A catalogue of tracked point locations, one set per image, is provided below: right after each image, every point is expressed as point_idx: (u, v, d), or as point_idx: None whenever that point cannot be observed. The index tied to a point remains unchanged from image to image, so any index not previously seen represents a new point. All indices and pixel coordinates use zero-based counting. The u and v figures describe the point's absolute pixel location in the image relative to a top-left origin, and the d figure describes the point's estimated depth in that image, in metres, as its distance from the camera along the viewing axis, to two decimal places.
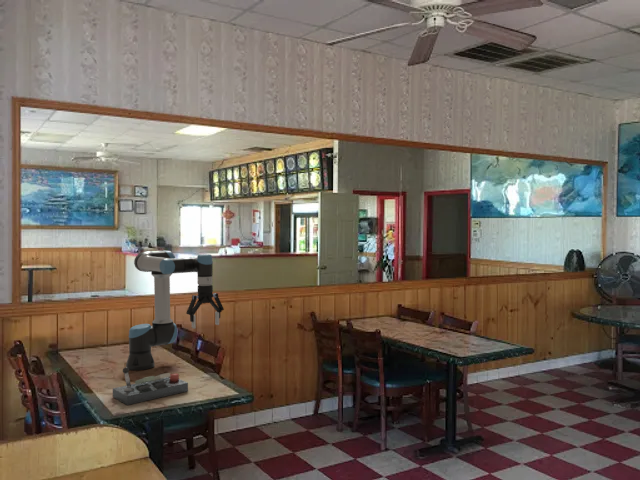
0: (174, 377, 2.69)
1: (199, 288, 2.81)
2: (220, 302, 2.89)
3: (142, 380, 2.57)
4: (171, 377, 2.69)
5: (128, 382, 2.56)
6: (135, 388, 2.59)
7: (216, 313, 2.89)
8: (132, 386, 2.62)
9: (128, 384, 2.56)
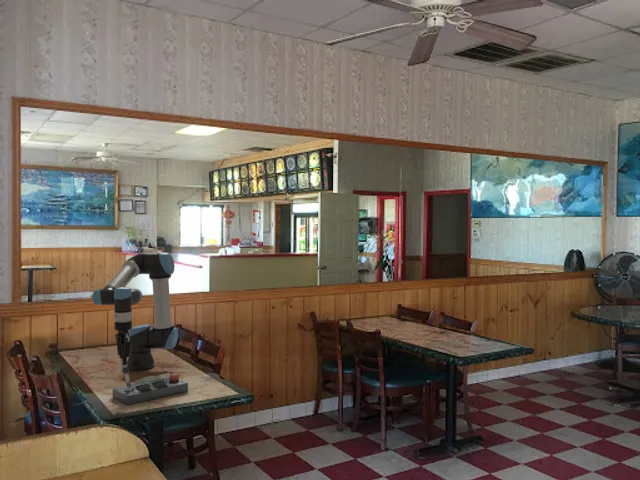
0: (174, 377, 2.69)
1: None
2: (124, 348, 2.55)
3: (142, 380, 2.57)
4: (171, 377, 2.69)
5: (128, 382, 2.56)
6: (135, 388, 2.59)
7: None
8: (132, 386, 2.62)
9: (128, 384, 2.56)
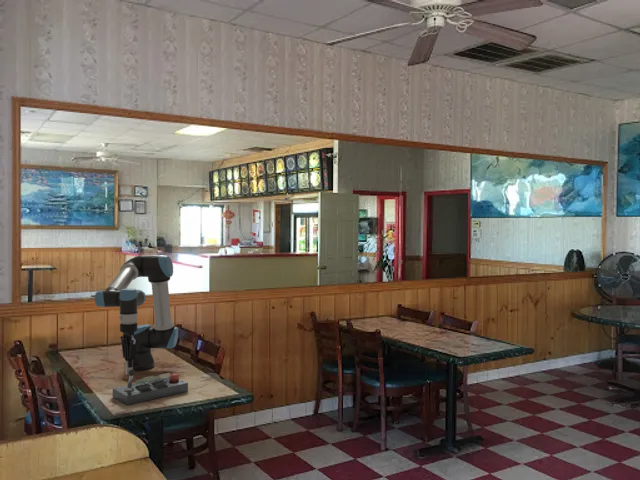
0: (174, 377, 2.69)
1: None
2: (130, 351, 2.50)
3: (142, 380, 2.57)
4: (171, 377, 2.69)
5: (130, 384, 2.55)
6: (135, 388, 2.59)
7: None
8: (132, 386, 2.62)
9: (129, 386, 2.55)
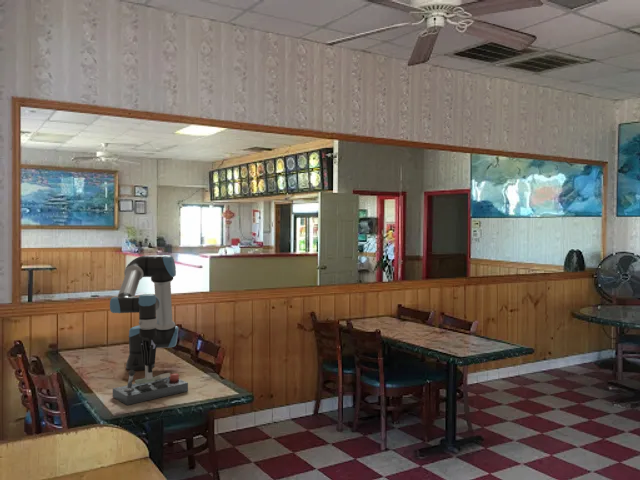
0: (174, 377, 2.69)
1: None
2: (150, 356, 2.53)
3: (142, 381, 2.57)
4: (171, 377, 2.69)
5: (130, 384, 2.55)
6: (135, 388, 2.59)
7: None
8: (132, 386, 2.62)
9: (129, 386, 2.55)
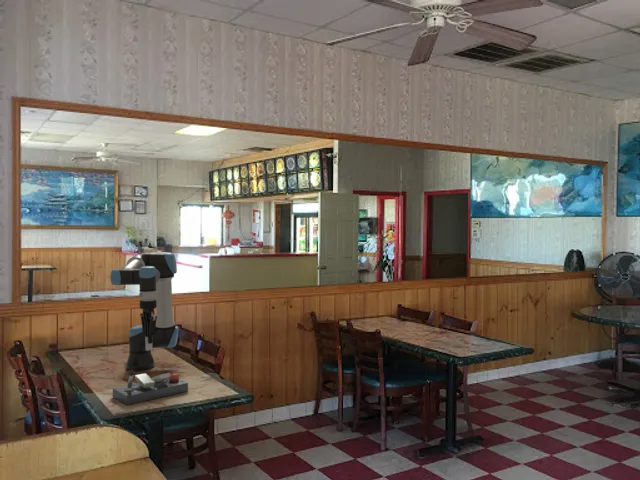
0: (174, 377, 2.69)
1: None
2: (150, 327, 2.56)
3: (142, 384, 2.57)
4: (171, 377, 2.69)
5: (130, 384, 2.55)
6: (135, 388, 2.59)
7: None
8: (132, 386, 2.62)
9: (129, 386, 2.55)
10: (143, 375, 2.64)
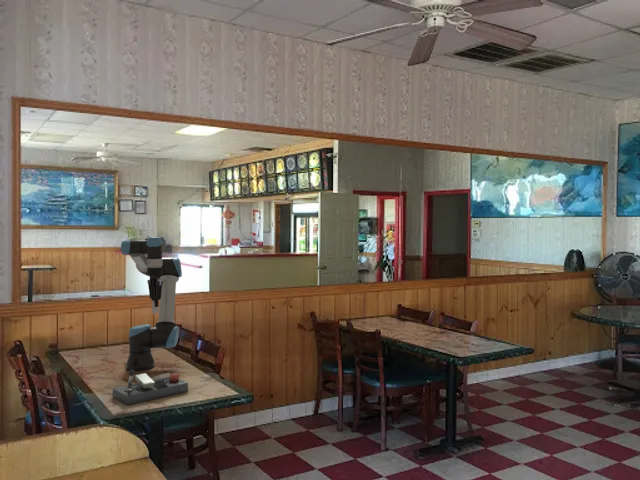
0: (174, 377, 2.69)
1: None
2: (156, 291, 2.82)
3: (142, 384, 2.57)
4: (171, 377, 2.69)
5: (130, 384, 2.55)
6: (135, 388, 2.59)
7: None
8: (132, 386, 2.62)
9: (129, 386, 2.55)
10: (143, 375, 2.64)
